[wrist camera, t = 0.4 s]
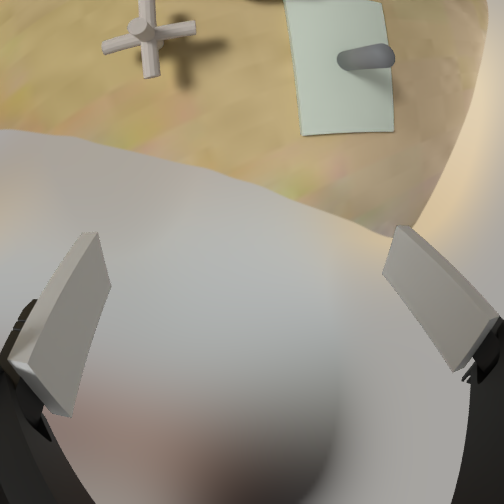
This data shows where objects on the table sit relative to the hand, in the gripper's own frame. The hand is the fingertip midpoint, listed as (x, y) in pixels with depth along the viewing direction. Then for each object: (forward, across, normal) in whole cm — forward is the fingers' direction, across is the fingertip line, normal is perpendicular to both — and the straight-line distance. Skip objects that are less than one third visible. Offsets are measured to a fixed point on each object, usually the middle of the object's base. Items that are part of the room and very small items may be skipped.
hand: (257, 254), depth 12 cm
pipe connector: (+26, -9, +14) cm, 31 cm away
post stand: (+26, +15, +13) cm, 33 cm away
